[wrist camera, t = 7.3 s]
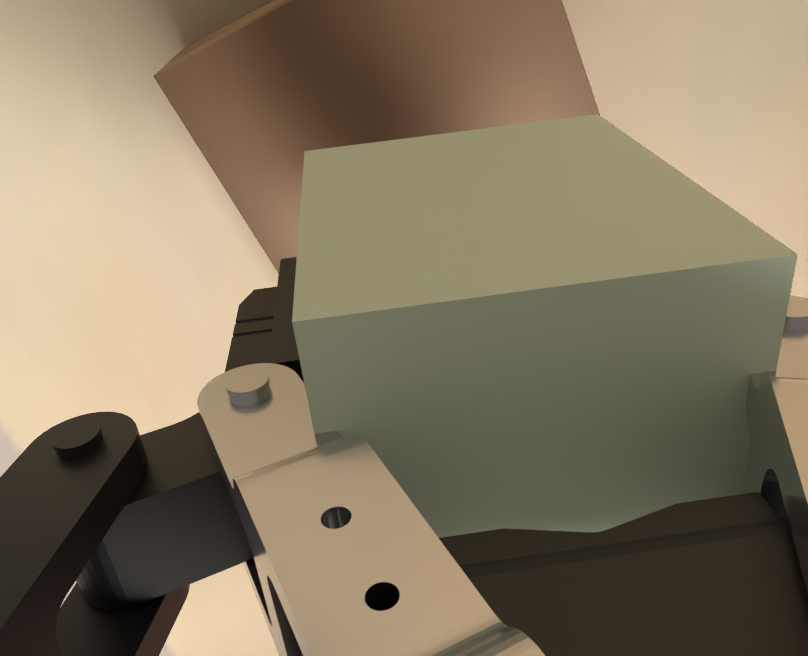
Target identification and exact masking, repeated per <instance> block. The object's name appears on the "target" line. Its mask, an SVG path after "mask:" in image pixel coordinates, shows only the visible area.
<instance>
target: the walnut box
mask: <svg viewBox="0 0 808 656" xmlns="http://www.w3.org/2000/svg"><path fill="white" fill-rule="evenodd" d="M154 78H155V79H156V81H157V82H158V84H159V86H160V87H161V89H162V90H163V92H164V93H165V95H166V97H167V98H168V100H169V101H170V103H171V104H172V106H173V108H174V109H175V111H176V112H177V114H178V115H179V117H180V119H181V120H182V122H183V123H184V125H185V127H186V128H187V130H188V131H189V133H190V134H191V136H192V138H193V139H194V141H195V142H196V144H197V145H198V147H199V149H200V150H201V152H202V153H203V155H204V156H205V158H206V160H207V161H208V163H209V164H210V166H211V167H212V169H213V171H214V172H215V174H216V175H217V177H218V179H219V180H220V182H221V183H222V185H223V186H224V188H225V190H226V191H227V193H228V194H229V196H230V197H231V199H232V201H233V202H234V204H235V205H236V207H237V208H238V210H239V212H240V213H241V215H242V216H243V218H244V219H245V221H246V223H247V224H248V226H249V227H250V229H251V231H252V232H253V234H254V235H255V237H256V238H257V240H258V242H259V243H260V245H261V246H262V248H263V249H264V251H265V253H266V254H267V256H268V257H269V259H270V260H271V262H272V264H273V265H274V267H275V268H276V270H277V271H278V273H279V269H280V261H281V259H284V258H292V257H297V247H298V233H299V219H300V206H301V192H302V178H303V164H304V151H309V150H317V149H325V148H333V147H341V146H349V145H357V144H365V143H373V142H381V141H389V140H397V139H405V138H413V137H421V136H429V135H437V134H445V133H453V132H460V131H468V130H476V129H484V128H492V127H500V126H508V125H516V124H524V123H532V122H540V121H548V120H556V119H564V118H572V117H580V116H588V115H596V114H598V115H599V116H600V114H599V111H598V108H597V105H596V102H595V99H594V96H593V93H592V90H591V87H590V84H589V81H588V78H587V75H586V72H585V69H584V66H583V63H582V60H581V57H580V54H579V51H578V48H577V45H576V42H575V39H574V36H573V33H572V30H571V27H570V24H569V21H568V18H567V15H566V12H565V9H564V6H563V3H562V0H271V1H270V2H268V3H266V4H264V5H262V6H260V7H259V8H257V9H255V10H253V11H251V12H250V13H248V14H246V15H244V16H242V17H240V18H239V19H237V20H235V21H233V22H231V23H229V24H228V25H226V26H224V27H222V28H220V29H219V30H217V31H215V32H213V33H211V34H209V35H208V36H206V37H204V38H202V39H200V40H198V41H197V42H195V43H193V44H191V45H189V46H187V47H186V48H184V49H183V50H182V51H181V52H180V53H179V54H178V55H176V56H175V57H174V58H173V59H172V60H171V61H170V62H169V63H168V64H166V65H165V66H164V67H163V68H162V69H161V70H160V71H159V72H158V73H157V74H155V75H154Z"/></svg>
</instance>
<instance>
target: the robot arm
mask: <svg viewBox="0 0 808 656" xmlns="http://www.w3.org/2000/svg"><path fill="white" fill-rule="evenodd" d="M296 261H297V257H292V258H284V259H281V261H280V269H279V277H278V286H277V287H272V288H264V289H256V290H254V291H253V292H252V293H251V294H250V295H249V296H248V297H247V298H246V299H245V300H244V301H243V302H242V303H241V304H240V305H239V308H238V313H237V318H236V324H235V327H234V332H233V337H232V341H231V346H230V351H229V355H228V360H227V365H226V369H225V372H224V373H222V374H220V375H219V376H217V377H215V378H214V379H212V380H211V381H210V382H209V383H207V385H206V386H205V387H204V388H203V389H202V390H201V392H200V394H199V396H198V401H197V404H198V408H199V413H197V414H195V415H194V416H192V417H190V418H188V419H186V420H184V421H181V422H179V423H176V424H173V425H171V426H168V427H165V428H162V429H159V430H156V431H153V432H150V433H147V434H144V435H139V432H138V429H137V426H136V423H135V422H134V421H133V419H131V418H130V417H128V416H126V415H124V414H121V413H116V412H96V413H90V414H85V415H81V416H78V417H75V418H72V419H69V420H66V421H64V422H62V423H60V424H58V425H56V426H54V427H52V428H50V429H49V430H47V431H45V432H44V433H43V434H41V435H40V436H39V437H37V438H36V439H35V440H34V441H33V442H32V443H31V444H30V445H29V446H28V447H27V448H26V450H25V451H24V452H23V453H22V454H21V455H20V456H19V457H18V458H17V460H16V461H15V462H14V463H13V464H12V465H11V466H10V467H9V468H8V470H7V471H6V472H5V473H4V474H3V475H2V476H1V477H0V656H159V654H160V652H161V650H162V648H163V646H164V644H165V642H166V640H167V637H168V635H169V633H170V631H171V629H172V627H173V625H174V623H175V621H176V619H177V617H178V614H179V612H180V610H181V608H182V606H183V604H184V602H185V600H186V597H187V595H188V592H189V584H191V583H194V582H196V581H198V580H201V579H203V578H206V577H208V576H211V575H213V574H216V573H218V572H221V571H223V570H225V569H228V568H230V567H233V566H235V565H238V564H240V563H244V566H245V568H246V571H247V573H248V576H249V579H250V581H251V584H252V586H253V589H254V591H255V594H256V597H257V599H258V602H259V604H260V607H261V609H262V612H263V615H264V617H265V620H266V622H267V625H268V627H269V630H270V633H271V635H272V638H273V640H274V643H275V645H276V648H277V651H278V653H279V656H808V299H807V298H803V297H797V296H790V298H789V303H788V309H787V315H786V320H785V326H784V331H783V337H782V342H781V348H780V353H779V359H778V364H777V370H775V371H768V372H761V373H754V374H750V380H749V386H748V392H747V398H746V404H745V411H746V415H747V419H748V426H749V452H748V460H747V466H746V472H745V478H744V483H743V489H742V494H739V495H732V496H725V497H718V498H711V499H704V500H697V501H690V502H683V503H677V504H674V505H671V506H669V507H666V508H663V509H661V510H658V511H655V512H653V513H650V514H647V515H645V516H642V517H639V518H637V519H634V520H632V521H629V522H626V523H624V524H621V525H618V526H616V527H613V528H610V529H608V530H605V531H601V532H569V531H548V530H528V529H507V528H503V529H496V530H490V531H483V532H476V533H469V534H462V535H455V536H448V537H441V538H438V537H437V535H436V534H435V533H434V531H433V530H432V529H431V527H430V526H429V524H428V523H427V522H426V520H425V519H424V518H423V516H422V515H421V514H420V512H419V511H418V510H417V508H416V507H415V506H414V504H413V503H412V502H411V500H410V499H409V498H408V496H407V495H406V493H405V492H404V491H403V489H402V488H401V487H400V485H399V484H398V483H397V481H396V480H395V479H394V477H393V476H392V475H391V473H390V472H389V471H388V469H387V468H386V467H385V465H384V464H383V462H382V461H381V460H380V458H379V457H378V456H377V454H376V453H375V452H374V450H373V449H372V448H371V446H370V445H369V444H368V442H367V441H366V440H365V439H364V437H363V436H362V435H360V434H359V433H354V434H351V435H348V436H346V437H343V438H342V437H341V436H340V435H339V433H338V432H337V431H332V432H325V433H317V434H314V430H313V425H312V420H311V415H310V410H309V405H308V400H307V395H306V390H305V385H304V379H303V374H302V369H301V364H300V359H299V354H298V349H297V344H296V339H295V334H294V329H293V324H292V315H293V302H294V288H295V274H296ZM75 581H76V582H77V583H76V585H75V586H74V588H73V589H72V591H71V592H70V594H69V596H68V597H67V598H66V600H65V601H64V603H63V605H62V606H61V604H62V602H63V600H64V598H65V596H66V594H67V593H68V591H69V590H70V588H71V587H72V585H73V584H74V582H75ZM60 606H61V608H60Z"/></svg>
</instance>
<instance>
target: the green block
mask: <svg viewBox="0 0 808 656" xmlns="http://www.w3.org/2000/svg"><path fill="white" fill-rule="evenodd" d="M796 259H797V254H796V253H795V252H794V251H792V250H791V249H789V248H788V247H786V246H785V245H784V244H782V243H781V242H779V241H778V240H776V239H775V238H774V237H772V236H771V235H769V234H768V233H766V232H765V231H764V230H762V229H761V228H759V227H758V226H756V225H755V224H754V223H752V222H751V221H749V220H748V219H746V218H745V217H744V216H742V215H741V214H739V213H738V212H736V211H735V210H734V209H732V208H731V207H729V206H728V205H726V204H725V203H724V202H722V201H721V200H719V199H718V198H716V197H715V196H714V195H712V194H711V193H709V192H708V191H706V190H705V189H704V188H702V187H701V186H699V185H698V184H696V183H695V182H694V181H692V180H691V179H689V178H688V177H686V176H685V175H684V174H682V173H681V172H679V171H678V170H676V169H675V168H674V167H672V166H671V165H669V164H668V163H666V162H665V161H664V160H662V159H661V158H659V157H658V156H656V155H655V154H654V153H652V152H651V151H649V150H648V149H646V148H645V147H644V146H642V145H641V144H639V143H638V142H636V141H635V140H634V139H632V138H631V137H629V136H628V135H626V134H625V133H624V132H622V131H621V130H619V129H618V128H616V127H615V126H614V125H612V124H611V123H609V122H608V121H606V120H605V119H604V118H602V117H601V116H599V115H598V114H596V115H588V116H580V117H572V118H564V119H556V120H548V121H540V122H532V123H524V124H516V125H508V126H500V127H492V128H484V129H476V130H468V131H460V132H453V133H445V134H437V135H429V136H421V137H413V138H405V139H397V140H389V141H381V142H373V143H365V144H357V145H349V146H341V147H333V148H325V149H317V150H309V151H304V164H303V178H302V192H301V206H300V219H299V233H298V247H297V261H296V274H295V288H294V302H293V315H292V324H293V329H294V334H295V339H296V344H297V349H298V354H299V359H300V364H301V369H302V374H303V379H304V385H305V390H306V395H307V400H308V405H309V410H310V415H311V420H312V425H313V430H314V434H317V433H325V432H332V431H337V432H338V433H339V435H340V436H341V437H342V438H343V437H346V436H348V435H351V434H354V433H359V434H360V435H362V436H363V437H364V439H365V440H366V441H367V442H368V444H369V445H370V446H371V448H372V449H373V450H374V452H375V453H376V454H377V456H378V457H379V458H380V460H381V461H382V462H383V464H384V465H385V467H386V468H387V469H388V471H389V472H390V473H391V475H392V476H393V477H394V479H395V480H396V481H397V483H398V484H399V485H400V487H401V488H402V489H403V491H404V492H405V493H406V495H407V496H408V498H409V499H410V500H411V502H412V503H413V504H414V506H415V507H416V508H417V510H418V511H419V512H420V514H421V515H422V516H423V518H424V519H425V520H426V522H427V523H428V524H429V526H430V527H431V529H432V530H433V531H434V533H435V534H436V535H437V537H438V538H441V537H448V536H455V535H462V534H469V533H476V532H483V531H490V530H496V529H503V528H507V529H528V530H548V531H569V532H601V531H605V530H608V529H610V528H613V527H616V526H618V525H621V524H624V523H626V522H629V521H632V520H634V519H637V518H639V517H642V516H645V515H647V514H650V513H653V512H655V511H658V510H661V509H663V508H666V507H669V506H671V505H674V504H677V503H683V502H690V501H697V500H704V499H711V498H718V497H725V496H732V495H739V494H742V489H743V483H744V478H745V472H746V466H747V460H748V452H749V426H748V419H747V415H746V411H745V404H746V398H747V392H748V386H749V380H750V374H754V373H761V372H768V371H775V370H777V364H778V359H779V353H780V348H781V342H782V337H783V331H784V326H785V320H786V315H787V309H788V303H789V298H790V292H791V287H792V281H793V276H794V270H795V265H796Z"/></svg>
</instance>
